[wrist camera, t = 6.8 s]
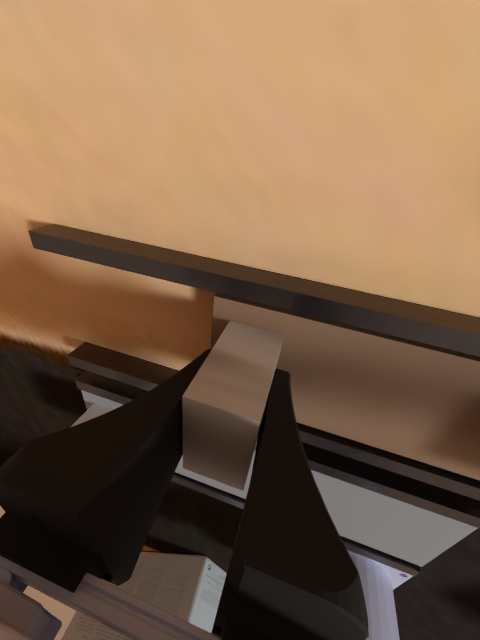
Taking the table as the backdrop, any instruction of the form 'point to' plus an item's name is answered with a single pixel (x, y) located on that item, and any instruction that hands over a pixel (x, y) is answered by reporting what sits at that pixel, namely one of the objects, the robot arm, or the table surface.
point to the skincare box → (164, 593)
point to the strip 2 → (351, 509)
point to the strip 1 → (328, 390)
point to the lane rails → (303, 297)
